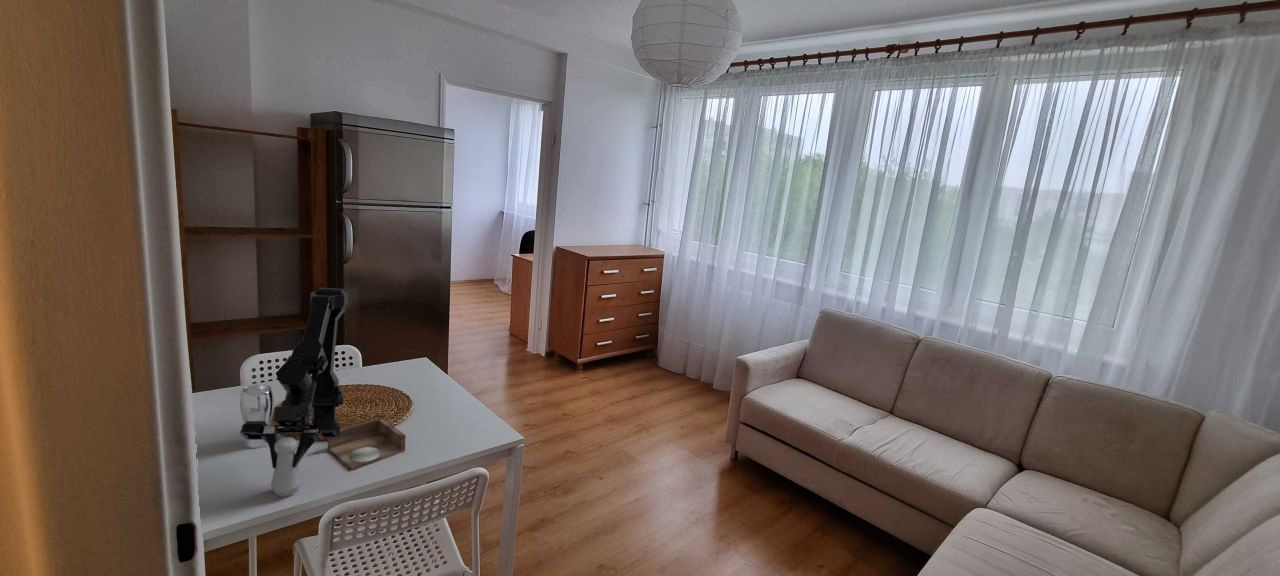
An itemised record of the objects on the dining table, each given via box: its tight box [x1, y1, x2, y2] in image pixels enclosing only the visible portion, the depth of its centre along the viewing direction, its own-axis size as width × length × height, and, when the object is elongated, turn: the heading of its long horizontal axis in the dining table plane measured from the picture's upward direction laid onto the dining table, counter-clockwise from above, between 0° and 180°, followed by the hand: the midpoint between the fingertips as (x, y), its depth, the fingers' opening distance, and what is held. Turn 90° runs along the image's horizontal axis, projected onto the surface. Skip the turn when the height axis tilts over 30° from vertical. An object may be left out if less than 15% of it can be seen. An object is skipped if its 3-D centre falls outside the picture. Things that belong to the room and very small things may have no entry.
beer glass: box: [239, 383, 275, 449], centre depth 136 cm, size 7×7×15 cm
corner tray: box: [327, 417, 406, 471], centre depth 140 cm, size 13×14×5 cm
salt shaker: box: [270, 437, 303, 498], centre depth 119 cm, size 6×6×13 cm
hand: (284, 467), depth 118 cm, fingers closed on salt shaker, 3 cm apart
